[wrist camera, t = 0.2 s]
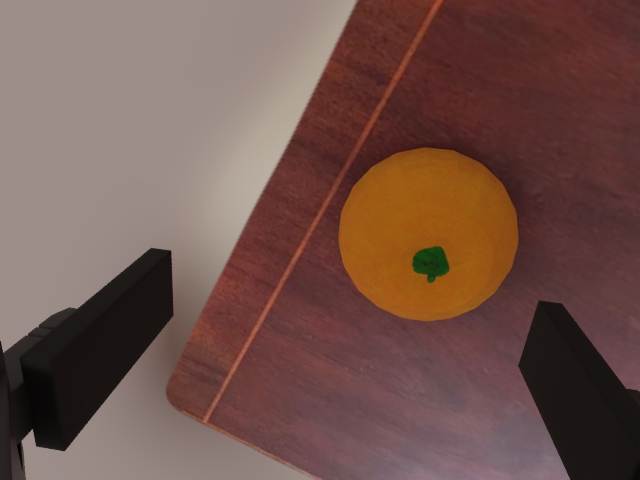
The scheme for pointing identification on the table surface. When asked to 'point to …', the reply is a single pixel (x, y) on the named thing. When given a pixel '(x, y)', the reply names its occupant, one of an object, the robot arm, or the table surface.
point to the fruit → (428, 234)
